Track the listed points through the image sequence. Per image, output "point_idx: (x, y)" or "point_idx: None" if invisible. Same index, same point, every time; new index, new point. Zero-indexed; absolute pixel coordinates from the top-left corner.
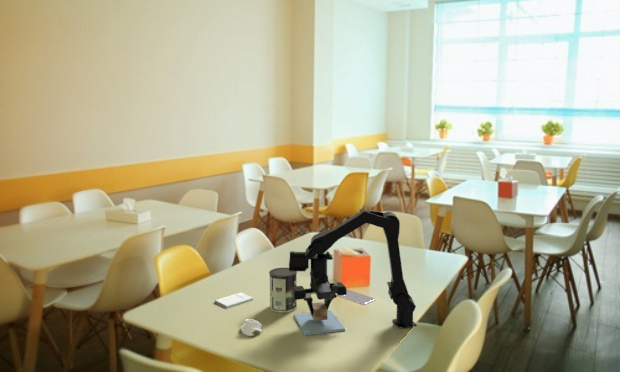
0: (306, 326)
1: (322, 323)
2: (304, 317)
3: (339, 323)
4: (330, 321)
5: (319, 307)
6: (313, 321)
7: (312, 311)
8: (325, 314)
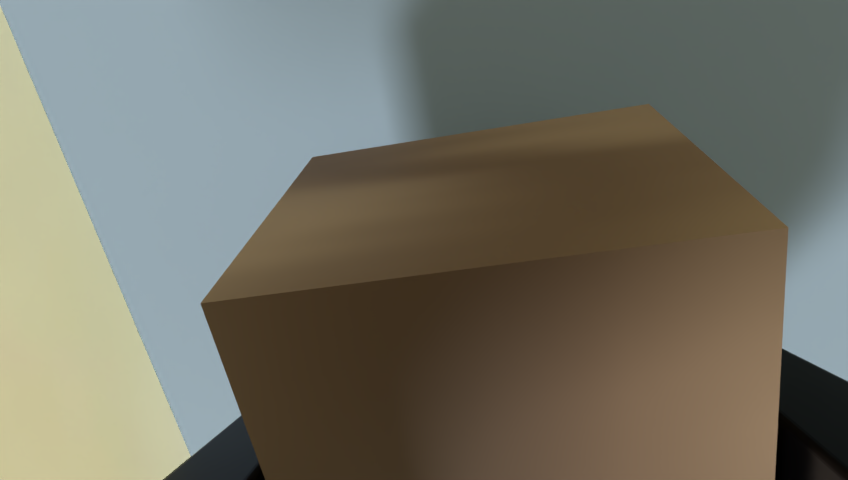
0: (837, 31)
1: None
2: None
3: (81, 126)
4: None
5: (519, 430)
6: None
7: None
8: (332, 196)
